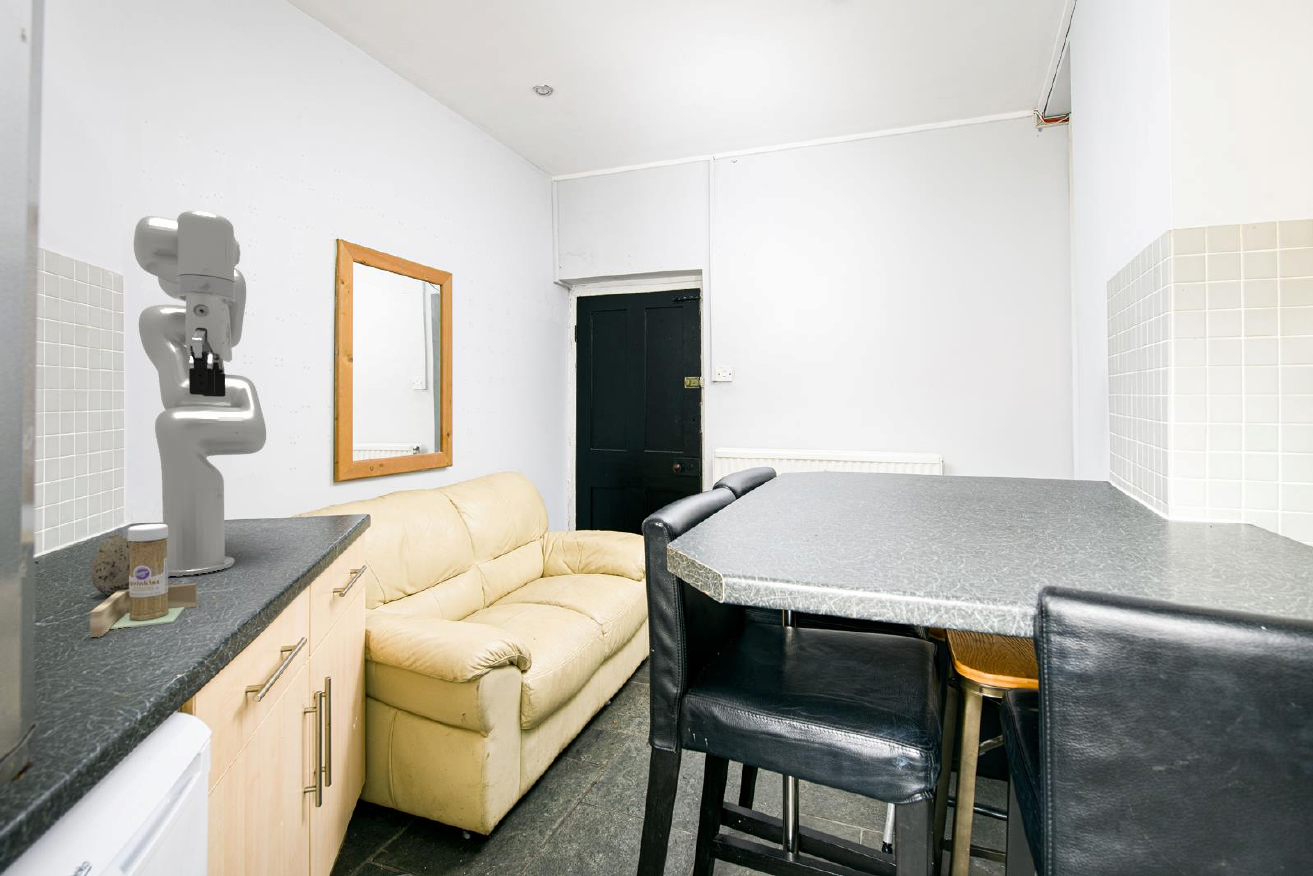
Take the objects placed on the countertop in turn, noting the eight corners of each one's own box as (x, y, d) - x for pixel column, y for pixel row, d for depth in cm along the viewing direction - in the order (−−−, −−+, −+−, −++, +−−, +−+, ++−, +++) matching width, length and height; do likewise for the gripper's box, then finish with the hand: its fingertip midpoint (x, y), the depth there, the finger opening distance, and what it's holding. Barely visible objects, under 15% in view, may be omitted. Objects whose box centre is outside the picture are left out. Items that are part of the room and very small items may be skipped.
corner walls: (118, 613, 91) (118, 590, 91) (197, 604, 96) (196, 583, 96) (90, 638, 81) (89, 612, 81) (179, 627, 86) (179, 603, 86)
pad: (126, 615, 91) (126, 613, 91) (184, 608, 94) (184, 607, 94) (110, 629, 84) (110, 627, 84) (173, 622, 88) (173, 620, 88)
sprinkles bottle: (126, 623, 86) (124, 529, 86) (132, 614, 90) (130, 524, 90) (167, 617, 89) (166, 526, 88) (171, 609, 93) (169, 522, 92)
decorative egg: (141, 595, 101) (140, 535, 101) (92, 602, 97) (91, 540, 96) (138, 587, 105) (137, 530, 105) (91, 594, 101) (90, 534, 101)
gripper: (225, 283, 94) (227, 394, 94) (242, 302, 109) (243, 397, 110) (164, 278, 90) (166, 393, 91) (190, 298, 105) (191, 396, 106)
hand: (208, 395), depth 100 cm, fingers open, 9 cm apart
